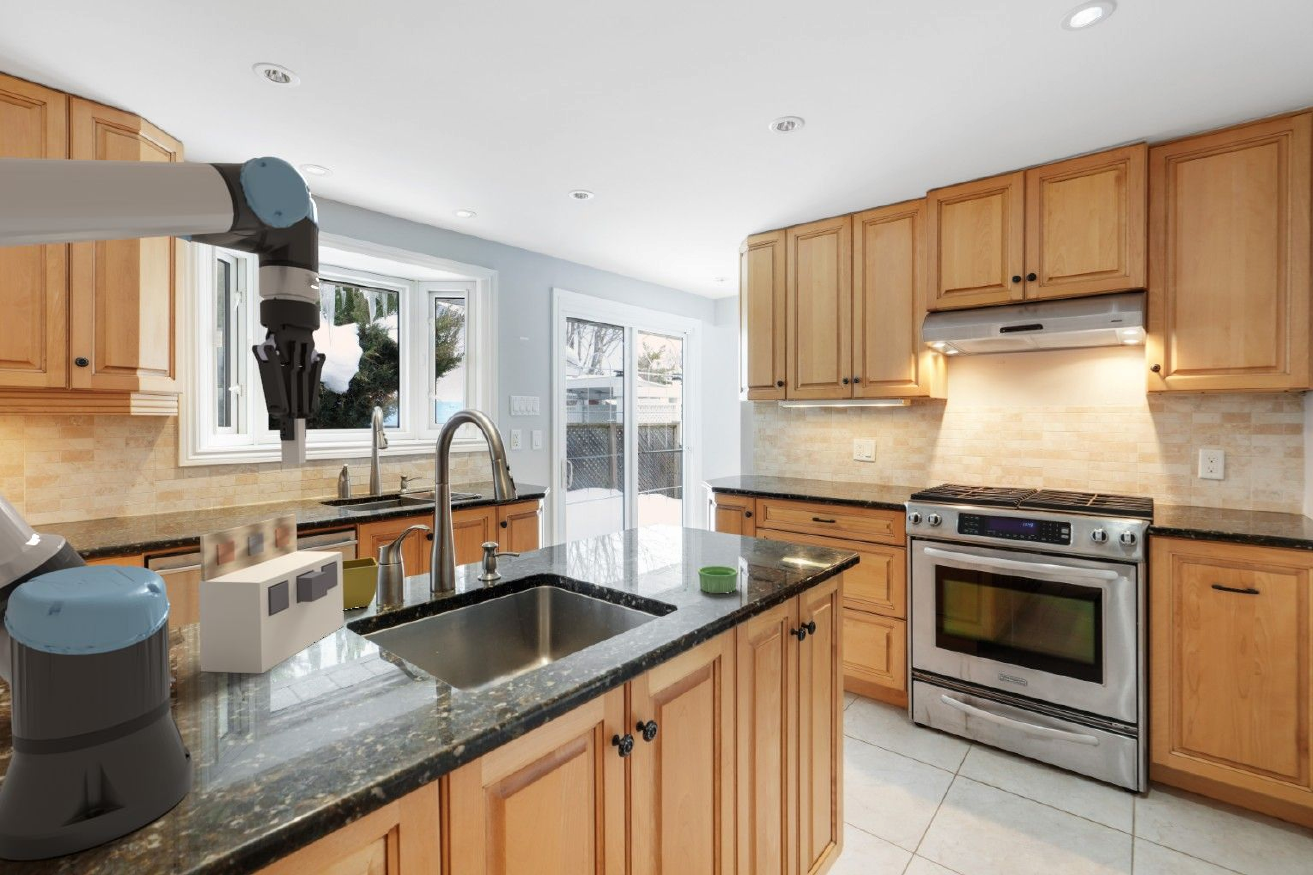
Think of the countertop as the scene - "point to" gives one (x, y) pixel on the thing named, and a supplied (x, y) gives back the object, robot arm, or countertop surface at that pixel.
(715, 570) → the ramekin
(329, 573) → the right button
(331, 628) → the console
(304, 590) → the middle button
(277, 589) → the left button
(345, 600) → the flower pot
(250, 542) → the pattern sign
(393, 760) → the countertop surface
